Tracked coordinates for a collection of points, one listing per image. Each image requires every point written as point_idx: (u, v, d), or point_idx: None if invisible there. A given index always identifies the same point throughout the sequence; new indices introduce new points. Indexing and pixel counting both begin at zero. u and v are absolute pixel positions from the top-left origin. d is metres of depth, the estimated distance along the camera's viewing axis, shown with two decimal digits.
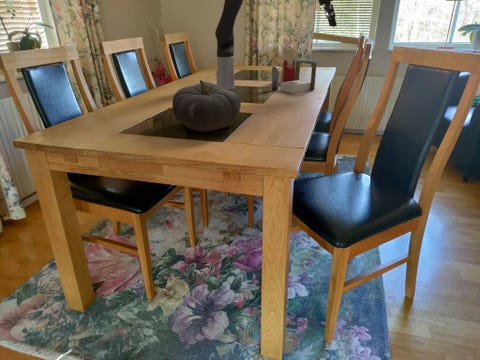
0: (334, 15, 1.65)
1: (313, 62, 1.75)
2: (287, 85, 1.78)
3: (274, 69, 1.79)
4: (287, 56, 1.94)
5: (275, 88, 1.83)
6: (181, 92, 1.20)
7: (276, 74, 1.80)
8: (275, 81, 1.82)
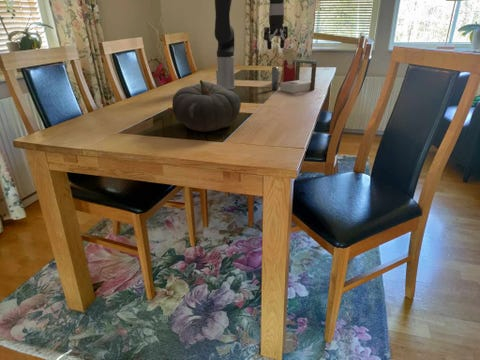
0: (266, 39, 1.69)
1: (313, 62, 1.75)
2: (287, 85, 1.78)
3: (274, 69, 1.79)
4: (287, 56, 1.94)
5: (275, 88, 1.83)
6: (181, 92, 1.20)
7: (276, 74, 1.80)
8: (275, 81, 1.82)
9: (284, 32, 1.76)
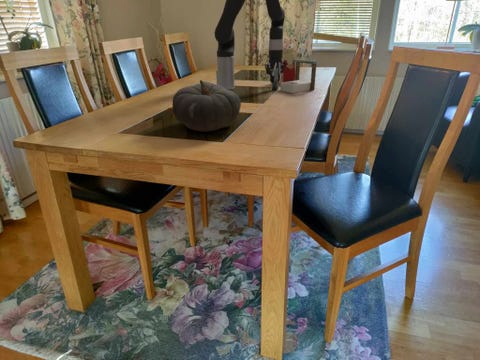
0: (269, 73, 1.78)
1: (313, 62, 1.75)
2: (287, 85, 1.78)
3: None
4: (287, 56, 1.94)
5: (275, 88, 1.83)
6: (181, 92, 1.20)
7: (276, 74, 1.80)
8: (275, 81, 1.82)
9: (281, 67, 1.83)
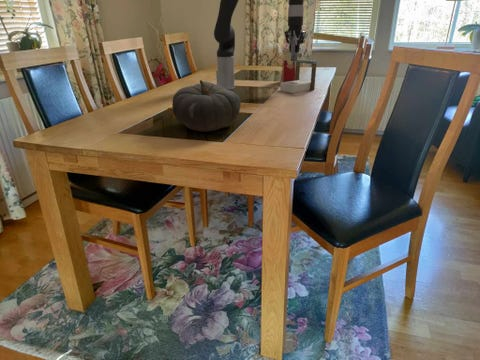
0: (302, 42, 1.69)
1: (313, 62, 1.75)
2: (287, 85, 1.78)
3: (297, 37, 1.71)
4: (287, 56, 1.94)
5: None
6: (181, 92, 1.20)
7: None
8: None
9: (288, 36, 1.74)
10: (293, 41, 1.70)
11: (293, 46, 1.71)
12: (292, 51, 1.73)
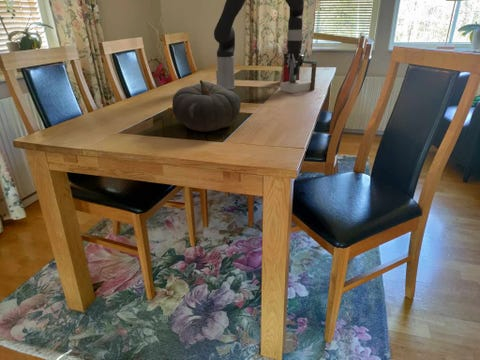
0: (300, 65, 1.73)
1: (313, 62, 1.75)
2: (287, 85, 1.78)
3: (296, 60, 1.75)
4: None
5: None
6: (181, 92, 1.20)
7: None
8: None
9: (287, 58, 1.79)
10: (292, 64, 1.75)
11: (292, 68, 1.76)
12: (291, 73, 1.77)
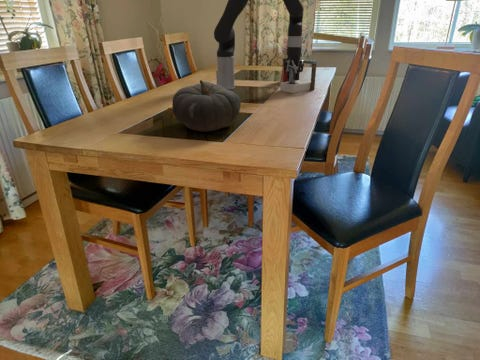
0: (302, 70, 1.74)
1: (313, 62, 1.75)
2: (287, 85, 1.78)
3: None
4: (287, 56, 1.94)
5: None
6: (181, 92, 1.20)
7: None
8: None
9: (286, 63, 1.80)
10: (291, 73, 1.77)
11: (291, 77, 1.78)
12: (290, 82, 1.79)
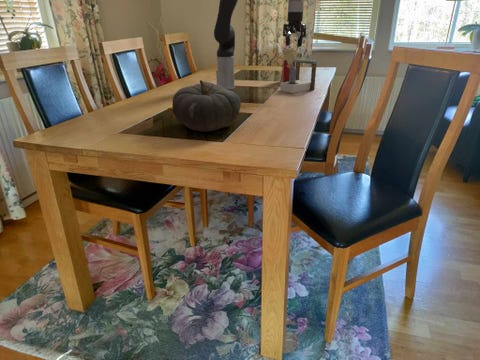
0: (305, 36, 1.66)
1: (313, 62, 1.75)
2: (287, 85, 1.78)
3: None
4: (287, 56, 1.94)
5: None
6: (181, 92, 1.20)
7: None
8: None
9: (286, 29, 1.74)
10: (291, 73, 1.77)
11: (291, 77, 1.78)
12: (290, 82, 1.79)
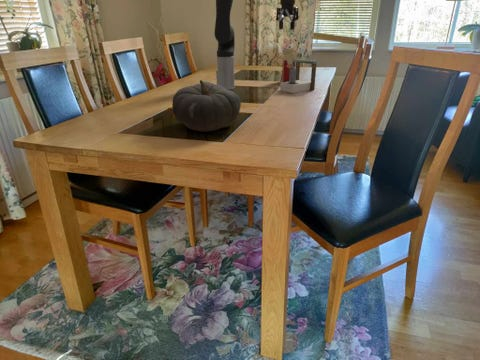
0: (297, 18, 1.70)
1: (313, 62, 1.75)
2: (287, 85, 1.78)
3: None
4: (287, 56, 1.94)
5: None
6: (181, 92, 1.20)
7: None
8: None
9: (279, 13, 1.78)
10: (291, 73, 1.77)
11: (291, 77, 1.78)
12: (290, 82, 1.79)
